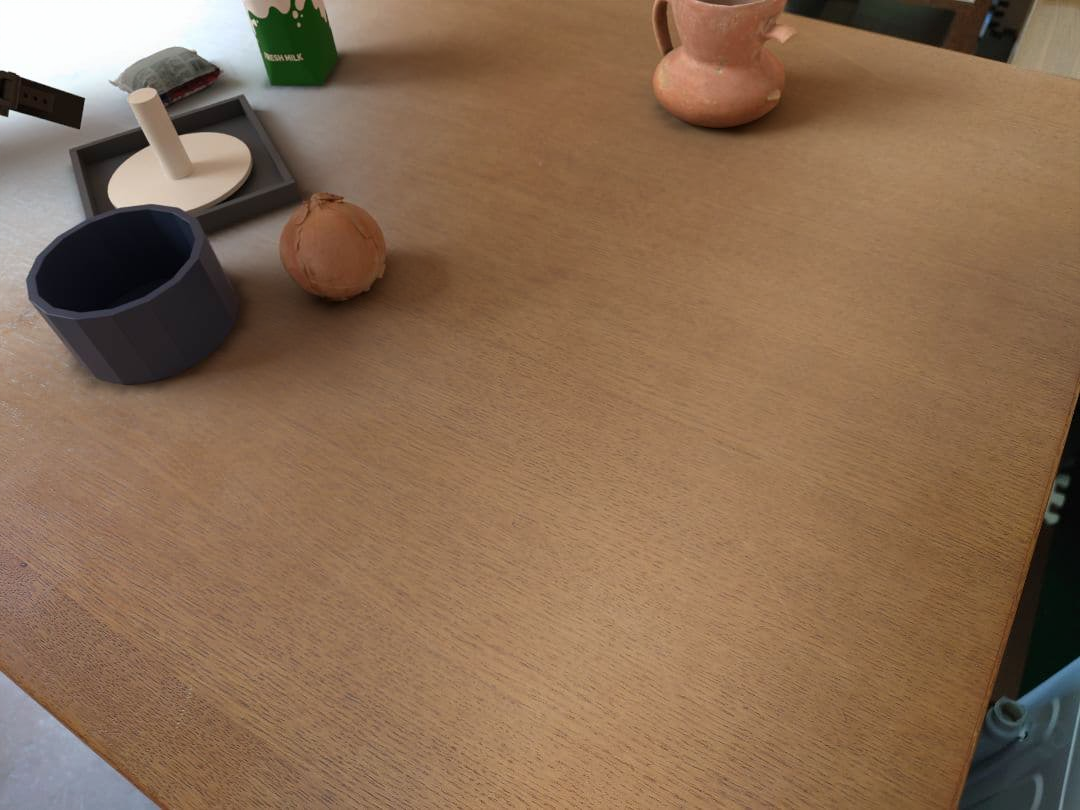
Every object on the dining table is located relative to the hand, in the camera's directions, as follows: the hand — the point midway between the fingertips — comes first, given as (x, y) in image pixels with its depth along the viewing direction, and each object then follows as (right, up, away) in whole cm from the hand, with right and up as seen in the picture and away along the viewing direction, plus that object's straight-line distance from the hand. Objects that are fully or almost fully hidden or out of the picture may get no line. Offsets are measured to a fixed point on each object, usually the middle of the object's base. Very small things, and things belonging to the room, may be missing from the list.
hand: (26, 98), depth 69 cm
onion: (+27, -16, +6) cm, 32 cm away
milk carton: (+15, +16, +32) cm, 39 cm away
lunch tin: (+10, -20, +4) cm, 23 cm away
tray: (+6, -3, +18) cm, 19 cm away
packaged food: (-2, +13, +32) cm, 34 cm away
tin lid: (+6, -2, +17) cm, 18 cm away
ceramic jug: (+65, +7, +21) cm, 69 cm away
